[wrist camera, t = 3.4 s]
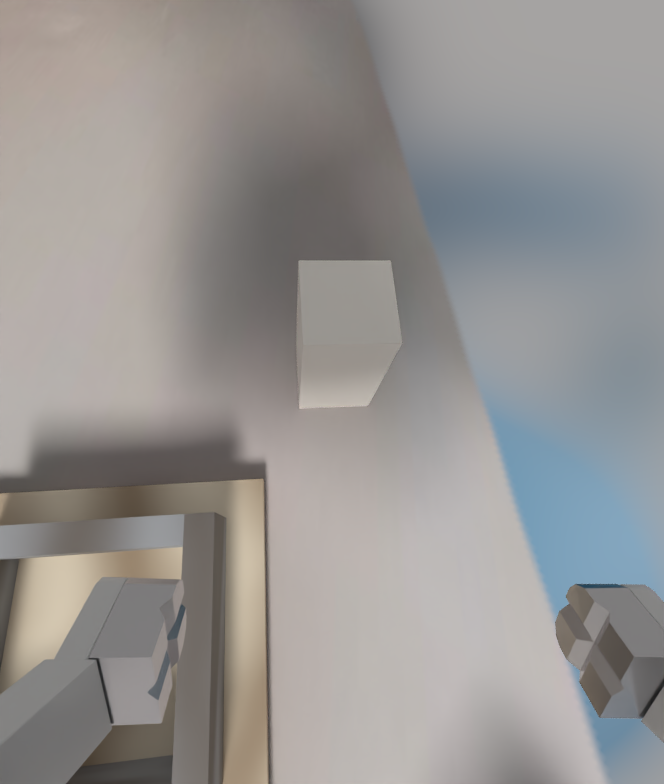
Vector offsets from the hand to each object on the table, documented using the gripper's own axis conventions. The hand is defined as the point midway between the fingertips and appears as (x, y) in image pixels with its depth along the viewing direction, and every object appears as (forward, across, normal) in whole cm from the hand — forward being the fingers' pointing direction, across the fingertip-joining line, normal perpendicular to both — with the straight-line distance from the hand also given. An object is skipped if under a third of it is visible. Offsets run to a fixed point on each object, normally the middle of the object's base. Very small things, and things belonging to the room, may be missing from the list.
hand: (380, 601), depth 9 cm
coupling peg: (+17, 0, +2) cm, 17 cm away
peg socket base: (+7, +10, +12) cm, 17 cm away
